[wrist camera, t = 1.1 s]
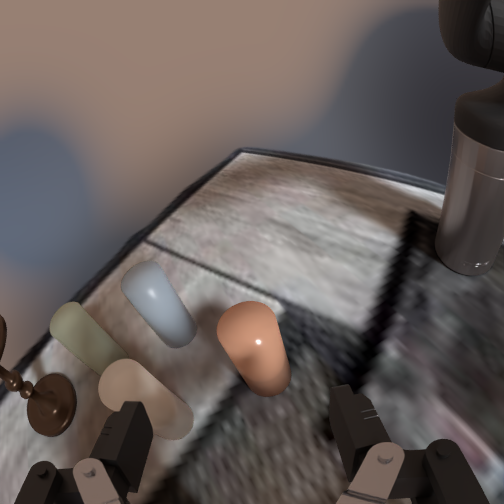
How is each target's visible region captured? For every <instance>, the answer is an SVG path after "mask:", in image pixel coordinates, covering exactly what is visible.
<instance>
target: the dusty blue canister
mask: <svg viewBox="0 0 504 504" xmlns="http://www.w3.org/2000/svg"><path fill="white" fill-rule="evenodd" d="M121 289H122V292H123V293H124V294H125V296H126V297H127V298H128V299H129V301H130V302H131V303H132V305H133V306H134V307H135V308H136V310H137V311H138V312H139V313H140V315H141V316H142V317H143V318H144V320H145V321H146V322H147V323H148V324H149V326H150V327H151V328H152V329H153V330H154V332H155V333H156V334H157V335H158V336H159V338H160V339H161V340H162V341H163V342H164V343H165V344H166V345H167V346H168V347H171V348H180V347H183V346H185V345H187V344H188V343H190V342H191V341H192V340H193V338H194V337H195V335H196V331H197V326H196V323H195V321H194V320H193V318H192V316H191V315H190V313H189V312H188V310H187V309H186V307H185V305H184V304H183V302H182V301H181V299H180V297H179V296H178V294H177V293H176V291H175V289H174V288H173V286H172V284H171V283H170V281H169V280H168V278H167V276H166V275H165V273H164V271H163V270H162V268H161V266H160V265H159V264H158V263H157V262H155V261H144V262H141V263H138V264H136V265H135V266H133V267H132V268H130V269H129V270H128V271H127V273H126V274H125V275H124V277H123V279H122V282H121Z"/></svg>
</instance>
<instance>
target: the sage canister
mask: <svg viewBox="0 0 504 504" xmlns="http://www.w3.org/2000/svg"><path fill="white" fill-rule="evenodd" d="M50 333H51V335H52V336H53V337H54V338H55V339H57V340H58V341H59V342H60V343H61V344H62V345H63V346H65V347H66V348H67V349H68V350H69V351H70V352H71V353H73V354H74V355H75V356H76V357H77V358H79V359H80V360H81V361H82V362H83V363H85V364H86V365H87V366H88V367H90V368H91V369H92V370H93V371H95V372H96V373H97V374H99V375H100V376H102V374H103V372H104V371H105V369H106V368H107V367H108V366H109V365H111V364H112V363H114V362H115V361H117V360H121V359H129V356H128V354H127V353H126V352H125V351H124V350H123V349H122V348H121V347H120V346H119V345H118V344H117V343H116V342H115V341H114V340H113V339H112V338H111V337H110V336H109V335H108V334H107V333H106V332H105V331H104V330H103V329H102V328H101V327H100V326H99V325H98V324H97V323H96V322H95V321H94V319H93V318H92V317H91V316H90V315H89V314H88V313H87V312H86V311H85V310H84V309H83V308H82V307H81V305H80V304H79V303H77V302H69V303H66V304H64V305H63V306H61V307H60V308H59V309H58V310H57V311H56V313H55V314H54V316H53V317H52V320H51V322H50Z"/></svg>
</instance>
